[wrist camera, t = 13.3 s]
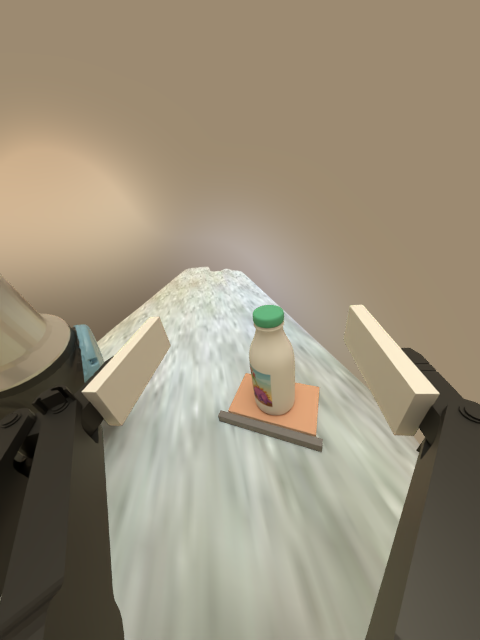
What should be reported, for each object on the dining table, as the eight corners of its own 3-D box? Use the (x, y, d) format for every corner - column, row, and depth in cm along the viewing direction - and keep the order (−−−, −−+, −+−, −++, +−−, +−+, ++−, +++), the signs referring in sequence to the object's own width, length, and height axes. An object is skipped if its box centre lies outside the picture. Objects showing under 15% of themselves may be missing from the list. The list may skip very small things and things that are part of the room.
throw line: (219, 420, 38) (218, 415, 37) (222, 415, 39) (220, 410, 38) (321, 451, 31) (322, 446, 30) (321, 444, 32) (322, 439, 31)
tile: (228, 412, 39) (228, 410, 39) (246, 374, 47) (245, 373, 47) (315, 436, 33) (315, 434, 33) (319, 389, 41) (319, 387, 40)
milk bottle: (287, 380, 43) (285, 296, 33) (300, 412, 36) (303, 319, 26) (252, 387, 43) (239, 304, 33) (259, 420, 36) (245, 329, 26)
